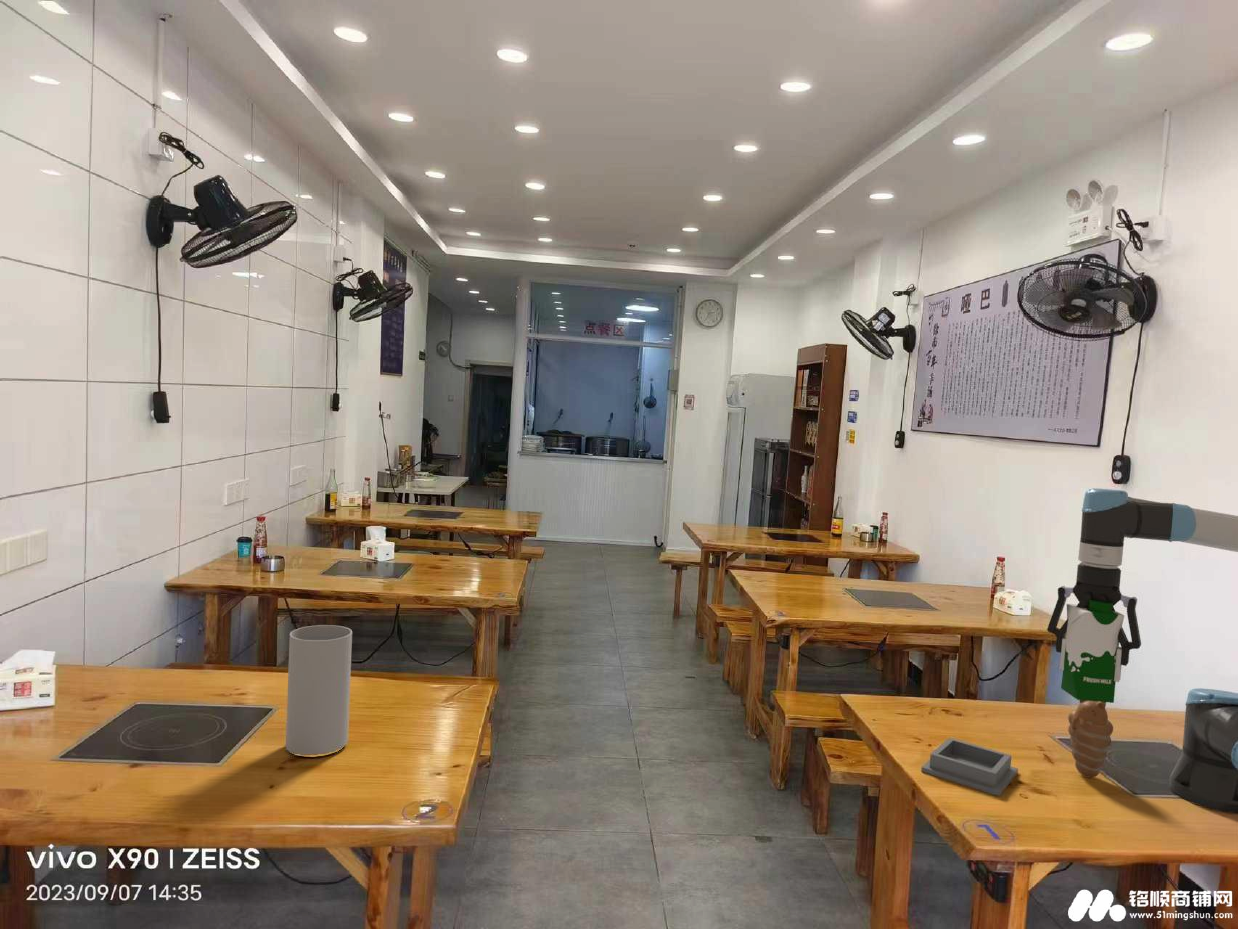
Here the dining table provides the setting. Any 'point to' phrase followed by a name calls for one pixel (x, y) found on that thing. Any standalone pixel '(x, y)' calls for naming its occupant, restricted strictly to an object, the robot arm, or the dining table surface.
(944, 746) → the dock
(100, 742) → the dining table surface
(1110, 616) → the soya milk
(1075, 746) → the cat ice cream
